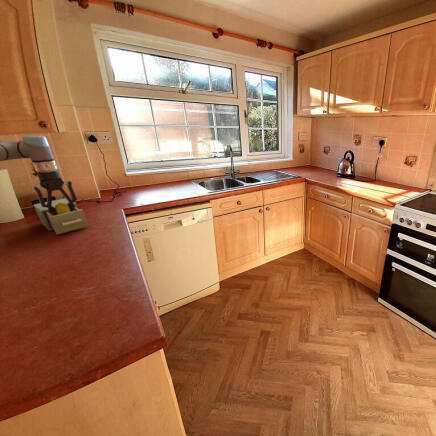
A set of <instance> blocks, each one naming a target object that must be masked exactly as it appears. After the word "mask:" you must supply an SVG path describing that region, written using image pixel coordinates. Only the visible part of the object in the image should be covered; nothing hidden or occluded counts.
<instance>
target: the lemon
mask: <svg viewBox="0 0 436 436" xmlns="http://www.w3.org/2000/svg"><path fill="white" fill-rule="evenodd" d="M55 210H56V213H57V215H59V214H64V213H68V212H71V210H70V208H69V206H68V205H67V204H65V203H61V202H60V203H59V204H57V205H56V206H55Z"/></svg>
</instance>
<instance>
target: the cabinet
mask: <svg viewBox="0 0 436 436" xmlns="http://www.w3.org/2000/svg"><path fill="white" fill-rule="evenodd" d="M44 202H45V204H47V201H44ZM60 202H61V203H65V204H67V203H69V201H68V200H67V199H66V198H64V199H63V198H61V199H54V200H52V206H53V207H54V208H55V206H56V205H57V204H59V203H60ZM67 205H68V204H67ZM74 206H75V207H76V208H78V204H77V203H76V202H74ZM33 207H34V210H35V212H36V214H37V216H38V219H39V220H40V223H41V225H43V226H44V227H45V229H47V230H48V231H55V230H54V229H53V228H52V227H51V226H50V225H49V222H48V220H47V218H46V215H45V213H44V212H46V211H49V209H48V207H42V206H41V203H40V202H39V203H35V204H33ZM78 209H79V208H78Z"/></svg>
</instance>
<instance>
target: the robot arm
mask: <svg viewBox="0 0 436 436" xmlns="http://www.w3.org/2000/svg"><path fill="white" fill-rule="evenodd" d="M21 138H22V140H0V162H5V161H11V160H20V159H21V160H23V159H30V161H31V163H32V165H33V167H34V170H35V172H36V176H37V177H38V180H39V184H38V185H34V186H32V189H33V190H34V191H35V193H36V196H37V199H38V200H39V203H41V206H42V207H48V209H49V212H50V213H51V214H54V216H55V215H57V213H56V210H55V208H54V207H53V206H52V201H53V198H52V194H53V192H55V191H60V193H61V194H62V195H64V197H65V198H66V199H67V200H68V201H69V203H67V204H68V206H69V208H70V210H71V212H72V211H73V209H75V206H74V203H76V202H77V201H78V198H77V196H76V194H75V192H74V189H73V187H72V185H73V183H72V181H71V180H64V179H63V178H62V176H61V174H60V171H59V170H58V166H57V163H56V160H55V158H54V156H53V153H52V150H51V146H50V144H49V142H48V140H47V137H46V136H44V135H23V136H22V137H21ZM64 185H65V186H66V187H67V189H68V191H69V194H70V196H71V197H70V196H69V194H68V193H67V192H66V191H65V190H64V188H63V186H64ZM42 188H43V189H45V190H46V201H45V199H44V196H43V193H42V191H41V190H42ZM65 198H64V199H65ZM45 202H47V204H45Z"/></svg>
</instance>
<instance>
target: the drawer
mask: <svg viewBox="0 0 436 436" xmlns="http://www.w3.org/2000/svg"><path fill="white" fill-rule="evenodd" d="M44 213H45V215H46V218H47V220H48V222H49V225H50V226H51V227H52V228H53V229H54V230H53V231H54V233H55V234H56V235H60V234H61V235H62V234H65V233H68V232H72V231H76V230H78V229H79V230H80V229H82V228H86V227H89V223H88V220H87V218H86V215H85V212H84V209H79V208H76V207H75V209H73V211H72V212H68V213H64V214H59V215H55V216H54V214H51V213H50V212H49V211H46V212H44Z"/></svg>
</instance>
